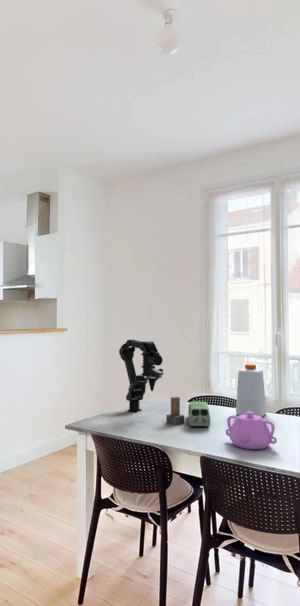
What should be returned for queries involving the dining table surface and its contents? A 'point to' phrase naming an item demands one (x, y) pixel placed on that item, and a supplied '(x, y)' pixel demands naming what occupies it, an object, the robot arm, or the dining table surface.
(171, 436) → the dining table surface
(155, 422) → the dining table surface
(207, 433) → the dining table surface
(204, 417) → the toy car
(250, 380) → the plastic bottle
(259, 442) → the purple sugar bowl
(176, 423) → the tall wooden pillar block
